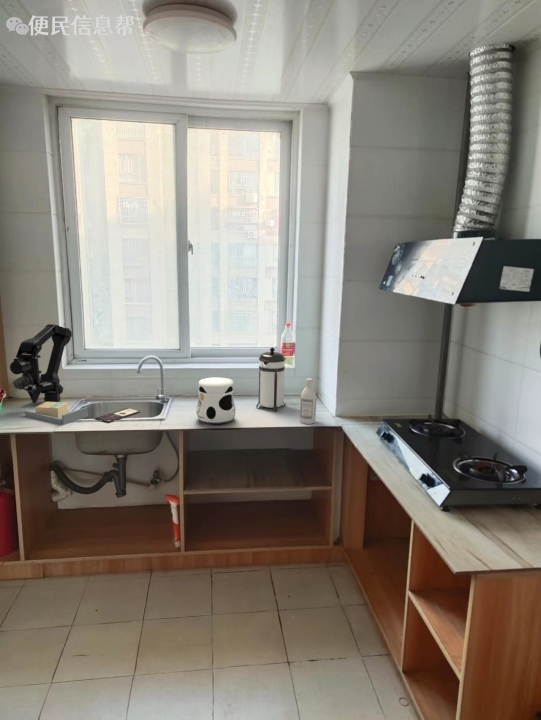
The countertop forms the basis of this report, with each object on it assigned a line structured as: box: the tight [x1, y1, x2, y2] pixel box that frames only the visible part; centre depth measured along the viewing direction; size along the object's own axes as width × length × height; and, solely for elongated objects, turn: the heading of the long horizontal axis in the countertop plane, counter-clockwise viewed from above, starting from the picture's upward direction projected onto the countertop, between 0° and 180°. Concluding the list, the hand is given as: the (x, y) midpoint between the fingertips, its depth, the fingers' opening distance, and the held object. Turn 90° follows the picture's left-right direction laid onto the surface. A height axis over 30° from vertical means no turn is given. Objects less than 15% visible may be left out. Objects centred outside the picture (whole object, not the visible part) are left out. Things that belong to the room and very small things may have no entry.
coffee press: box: [255, 347, 286, 412], centre depth 228 cm, size 17×16×30 cm
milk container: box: [196, 377, 236, 425], centre depth 207 cm, size 17×17×18 cm
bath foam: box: [299, 377, 317, 425], centre depth 208 cm, size 7×7×20 cm
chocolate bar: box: [94, 408, 141, 424], centre depth 211 cm, size 9×1×18 cm
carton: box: [35, 401, 69, 418], centre depth 206 cm, size 8×10×5 cm
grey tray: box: [24, 406, 89, 426], centre depth 204 cm, size 13×24×6 cm, turn 65°
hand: (34, 402), depth 210 cm, fingers closed
